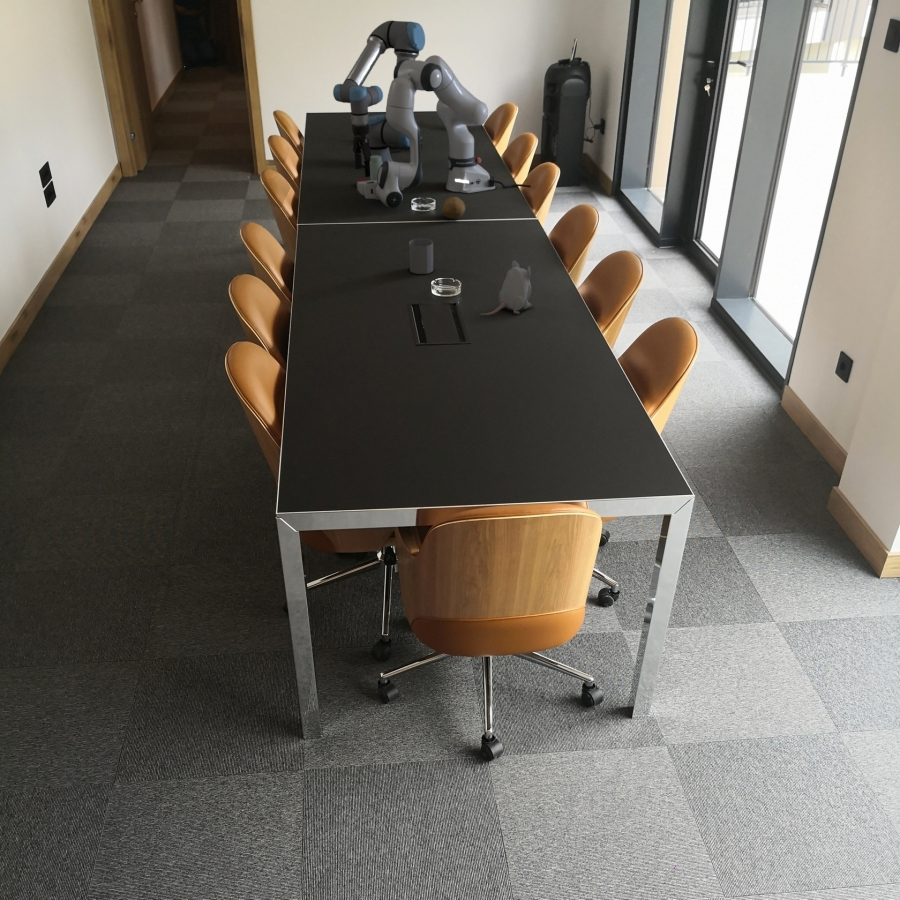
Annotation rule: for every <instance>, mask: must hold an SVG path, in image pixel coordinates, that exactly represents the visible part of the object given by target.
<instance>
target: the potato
mask: <svg viewBox="0 0 900 900" xmlns="http://www.w3.org/2000/svg"><path fill="white" fill-rule="evenodd" d="M465 210H466V204H465V202H464V200H462V199H460V197H458V196H449V197H447V198H446V200H445V201H444V202H443V203H442V207H441V213H442V214H443V216H445V217H446V218H448V219H450V220H458V219H460V218H462V216H464V214H465Z"/></svg>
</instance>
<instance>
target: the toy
mask: <svg viewBox="0 0 900 900" xmlns="http://www.w3.org/2000/svg"><path fill="white" fill-rule="evenodd" d="M531 272H532V271H531V265H530V264H529V265H528V267H527V270H526V269H525V268H522V267H520V264H519V263H518V261H517V260H515V259H513V260H512V263H511V268H510V269H509V270H508V271H507V273H506V275H505V277H504V280H503V283H502V285H501V286H502V287H501V289H500V290H499V293H498V302H499V303H498V304H499V306H498V307H496V308H495V309H494V310H493V311H490V312H486V313H481V315H483V316H490V315H491V316H492V315H494V314H496V313H498V312H500V311H501V310H504V309H505V308H507V309H509V310H512V311H513V314H516V315H519V314H521V313H520V311H519V310H521V309H522V310H527V309H529V308H533V304H532V303H530V302H529V299H530V298H531V294H532V285H531V282H530V281H531V280H530V279H531V275H532V273H531Z"/></svg>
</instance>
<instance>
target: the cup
mask: <svg viewBox="0 0 900 900" xmlns="http://www.w3.org/2000/svg"><path fill="white" fill-rule="evenodd" d="M408 253H409V272H411V273H412V274H416V275H426V274H430V273H432V272H434V241H433V240H431V239H428V238H422V237H421V238H420V237H419V238H414V239H411V240H410V241H409V242H408Z"/></svg>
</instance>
